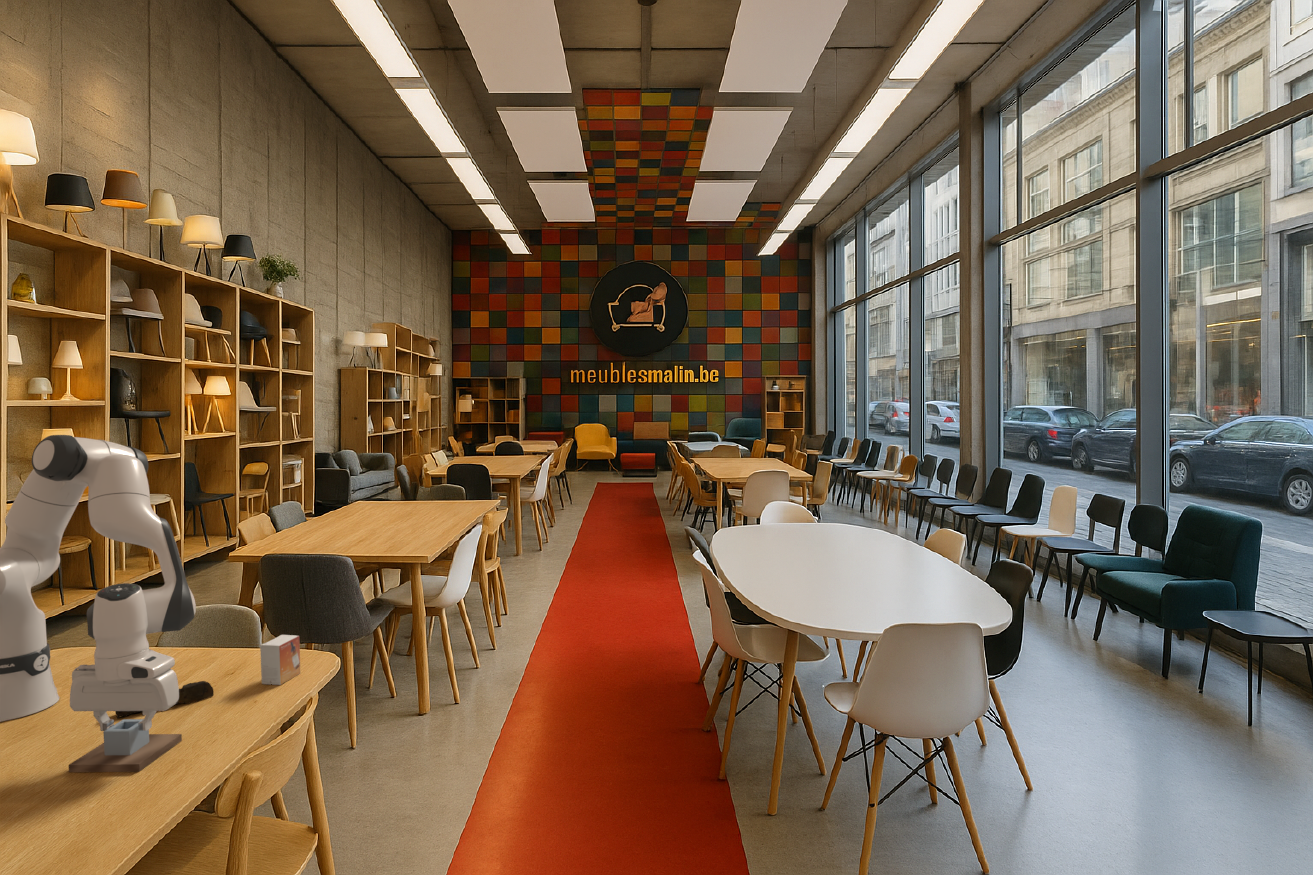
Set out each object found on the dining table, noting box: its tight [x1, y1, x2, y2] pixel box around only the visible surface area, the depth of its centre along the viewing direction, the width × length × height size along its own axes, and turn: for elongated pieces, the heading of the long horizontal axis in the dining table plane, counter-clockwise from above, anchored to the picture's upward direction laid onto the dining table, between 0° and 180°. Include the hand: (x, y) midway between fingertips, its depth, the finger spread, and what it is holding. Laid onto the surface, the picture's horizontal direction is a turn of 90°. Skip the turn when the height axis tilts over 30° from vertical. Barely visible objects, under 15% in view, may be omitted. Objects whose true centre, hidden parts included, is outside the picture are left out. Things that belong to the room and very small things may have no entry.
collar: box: [102, 718, 150, 755], centre depth 139 cm, size 5×5×5 cm
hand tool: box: [114, 680, 215, 719], centre depth 161 cm, size 19×4×5 cm, turn 122°
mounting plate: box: [68, 733, 183, 773], centre depth 139 cm, size 14×12×5 cm
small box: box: [259, 634, 301, 686], centre depth 177 cm, size 8×6×10 cm
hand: (126, 729), depth 139 cm, fingers open, 6 cm apart
